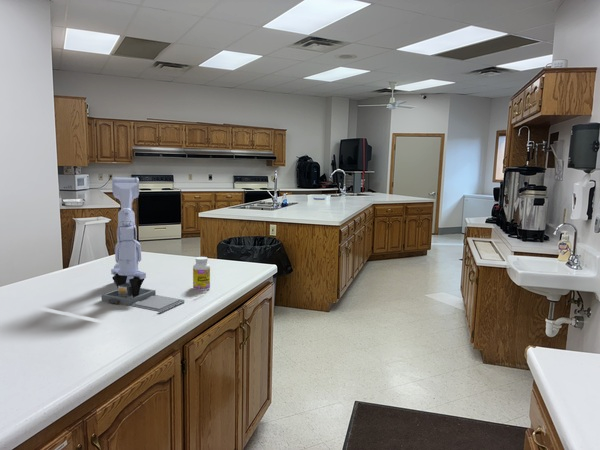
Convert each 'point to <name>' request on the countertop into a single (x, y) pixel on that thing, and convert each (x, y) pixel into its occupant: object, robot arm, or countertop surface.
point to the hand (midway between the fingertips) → (129, 295)
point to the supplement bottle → (201, 274)
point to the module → (125, 290)
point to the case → (144, 300)
